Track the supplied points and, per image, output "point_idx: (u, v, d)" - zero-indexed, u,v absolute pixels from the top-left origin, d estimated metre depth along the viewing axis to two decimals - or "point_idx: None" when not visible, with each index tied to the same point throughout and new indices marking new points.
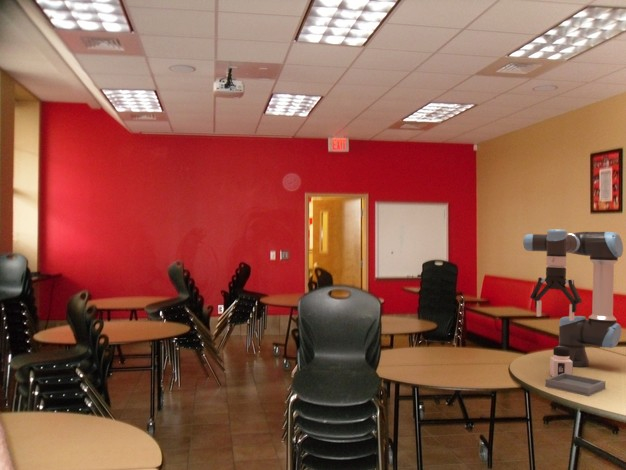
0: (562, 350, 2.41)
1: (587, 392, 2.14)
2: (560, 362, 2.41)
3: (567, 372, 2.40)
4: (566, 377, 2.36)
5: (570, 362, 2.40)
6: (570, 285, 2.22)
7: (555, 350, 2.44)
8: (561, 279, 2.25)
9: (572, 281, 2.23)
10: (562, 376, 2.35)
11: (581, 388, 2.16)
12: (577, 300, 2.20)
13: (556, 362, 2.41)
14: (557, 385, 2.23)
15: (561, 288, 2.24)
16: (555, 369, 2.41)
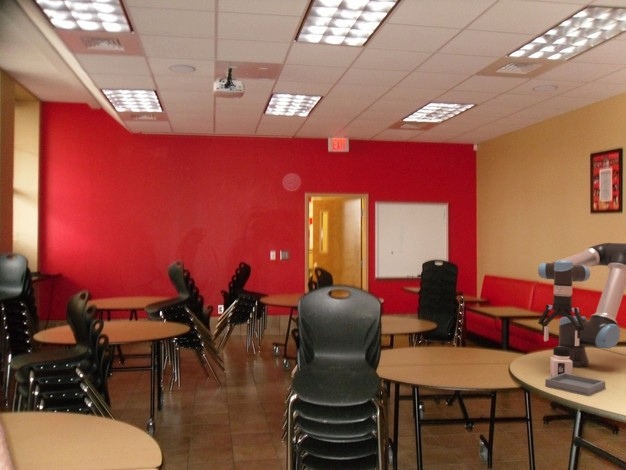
0: (562, 350, 2.41)
1: (587, 392, 2.14)
2: (560, 362, 2.41)
3: (567, 372, 2.40)
4: (566, 377, 2.36)
5: (570, 362, 2.40)
6: (576, 313, 2.39)
7: (555, 350, 2.44)
8: (567, 307, 2.42)
9: (577, 309, 2.39)
10: (562, 376, 2.35)
11: (581, 388, 2.16)
12: (582, 327, 2.37)
13: (556, 362, 2.41)
14: (557, 385, 2.23)
15: (567, 315, 2.41)
16: (555, 369, 2.41)
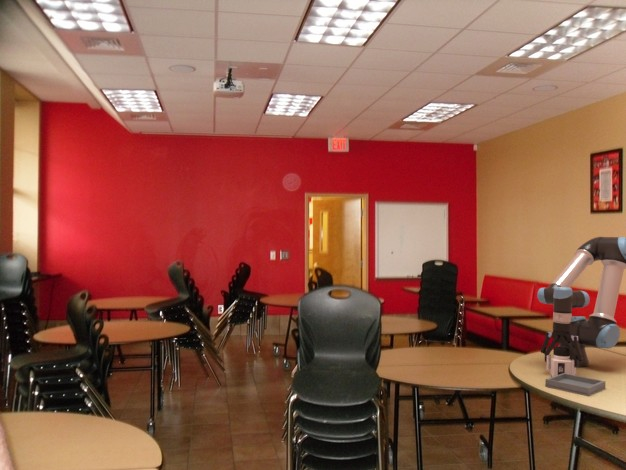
0: (562, 350, 2.41)
1: (587, 392, 2.14)
2: (560, 362, 2.41)
3: (567, 372, 2.40)
4: (566, 377, 2.36)
5: (570, 362, 2.40)
6: (575, 341, 2.39)
7: (555, 350, 2.44)
8: (567, 334, 2.42)
9: (577, 338, 2.39)
10: (562, 376, 2.35)
11: (581, 388, 2.16)
12: (579, 356, 2.38)
13: (556, 362, 2.41)
14: (557, 385, 2.23)
15: (566, 343, 2.41)
16: (555, 369, 2.41)
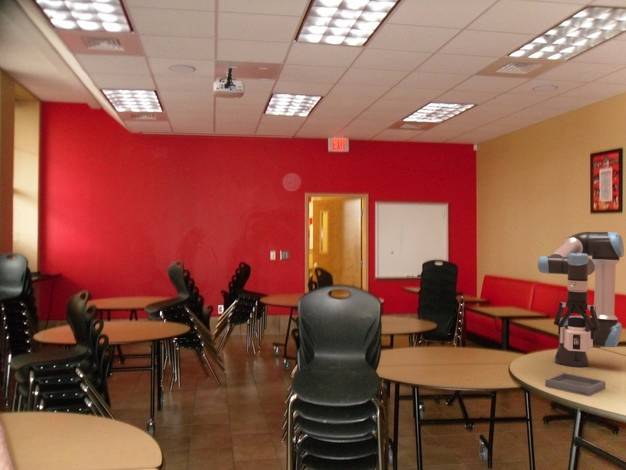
0: (577, 321, 2.23)
1: (587, 392, 2.14)
2: (575, 333, 2.23)
3: (583, 344, 2.22)
4: (566, 377, 2.36)
5: (586, 333, 2.22)
6: (591, 311, 2.21)
7: (570, 321, 2.25)
8: (583, 304, 2.23)
9: (594, 307, 2.21)
10: (562, 376, 2.35)
11: (581, 388, 2.16)
12: (596, 327, 2.19)
13: (571, 333, 2.23)
14: (557, 385, 2.23)
15: (582, 313, 2.23)
16: (570, 341, 2.23)
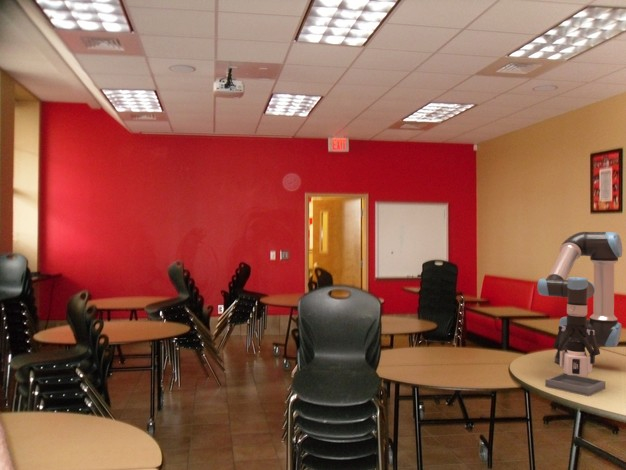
0: (577, 345, 2.23)
1: (587, 392, 2.14)
2: (575, 358, 2.23)
3: (582, 369, 2.22)
4: (566, 377, 2.36)
5: (586, 358, 2.22)
6: (591, 336, 2.21)
7: (569, 345, 2.25)
8: (582, 328, 2.23)
9: (593, 332, 2.21)
10: (562, 376, 2.35)
11: (581, 388, 2.16)
12: (596, 352, 2.19)
13: (570, 358, 2.23)
14: (557, 385, 2.23)
15: (581, 338, 2.23)
16: (569, 366, 2.23)
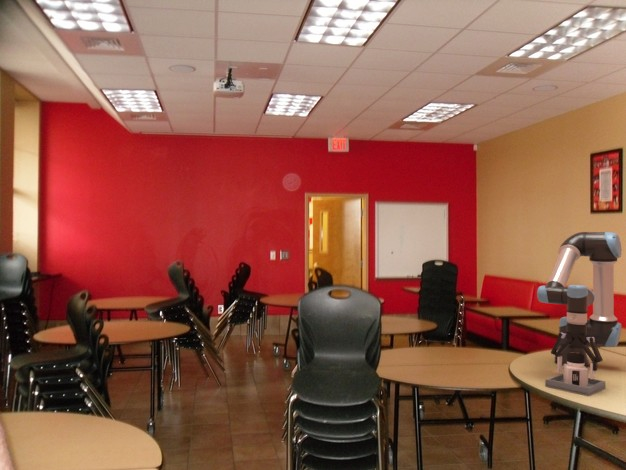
0: (577, 357, 2.23)
1: (587, 392, 2.14)
2: (575, 370, 2.23)
3: (582, 380, 2.22)
4: None
5: (585, 370, 2.22)
6: (591, 343, 2.21)
7: (569, 357, 2.25)
8: (582, 336, 2.23)
9: (593, 339, 2.21)
10: (562, 376, 2.35)
11: (581, 388, 2.16)
12: (598, 359, 2.19)
13: (570, 370, 2.23)
14: (557, 385, 2.23)
15: (582, 345, 2.23)
16: (569, 377, 2.23)
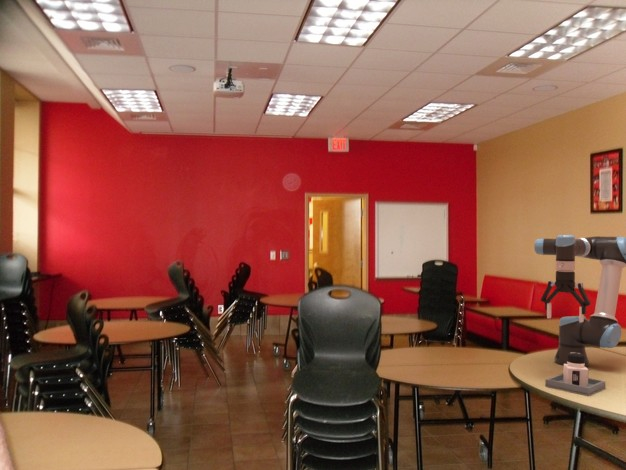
0: (577, 357, 2.23)
1: (587, 392, 2.14)
2: (575, 370, 2.23)
3: (582, 381, 2.22)
4: None
5: (585, 370, 2.22)
6: (579, 288, 2.32)
7: (569, 357, 2.25)
8: (570, 283, 2.35)
9: (581, 284, 2.33)
10: (562, 376, 2.35)
11: (581, 388, 2.16)
12: (587, 303, 2.30)
13: (570, 370, 2.23)
14: (557, 385, 2.23)
15: (571, 291, 2.34)
16: (569, 377, 2.23)
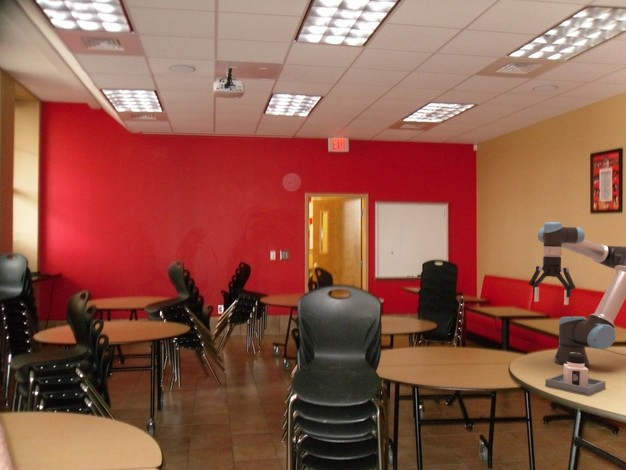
0: (577, 357, 2.23)
1: (587, 392, 2.14)
2: (575, 370, 2.23)
3: (582, 381, 2.22)
4: None
5: (585, 370, 2.22)
6: (565, 272, 2.45)
7: (569, 357, 2.25)
8: (557, 267, 2.48)
9: (567, 269, 2.45)
10: (562, 376, 2.35)
11: (581, 388, 2.16)
12: (571, 286, 2.43)
13: (570, 370, 2.23)
14: (557, 385, 2.23)
15: (557, 275, 2.47)
16: (569, 377, 2.23)
